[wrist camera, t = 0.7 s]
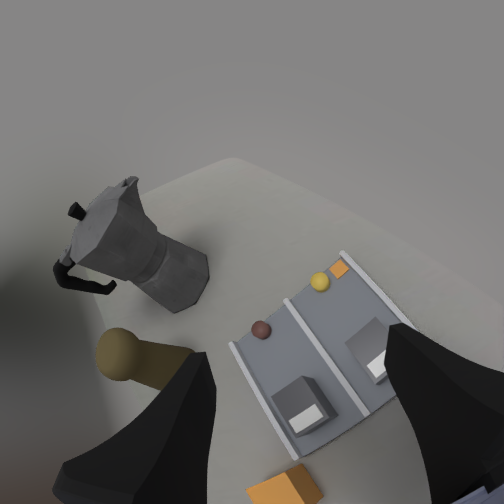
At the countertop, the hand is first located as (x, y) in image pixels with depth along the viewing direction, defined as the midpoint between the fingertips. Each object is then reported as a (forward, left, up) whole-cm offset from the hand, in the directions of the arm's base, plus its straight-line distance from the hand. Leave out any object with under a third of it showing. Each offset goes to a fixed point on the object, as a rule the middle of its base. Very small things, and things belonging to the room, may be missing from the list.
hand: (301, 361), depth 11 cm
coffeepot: (+23, +12, -15) cm, 30 cm away
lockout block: (-5, +10, -15) cm, 19 cm away
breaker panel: (+4, +1, -15) cm, 16 cm away
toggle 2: (+1, -3, -14) cm, 14 cm away
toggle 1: (+1, +4, -14) cm, 14 cm away
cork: (+12, +16, -15) cm, 25 cm away
